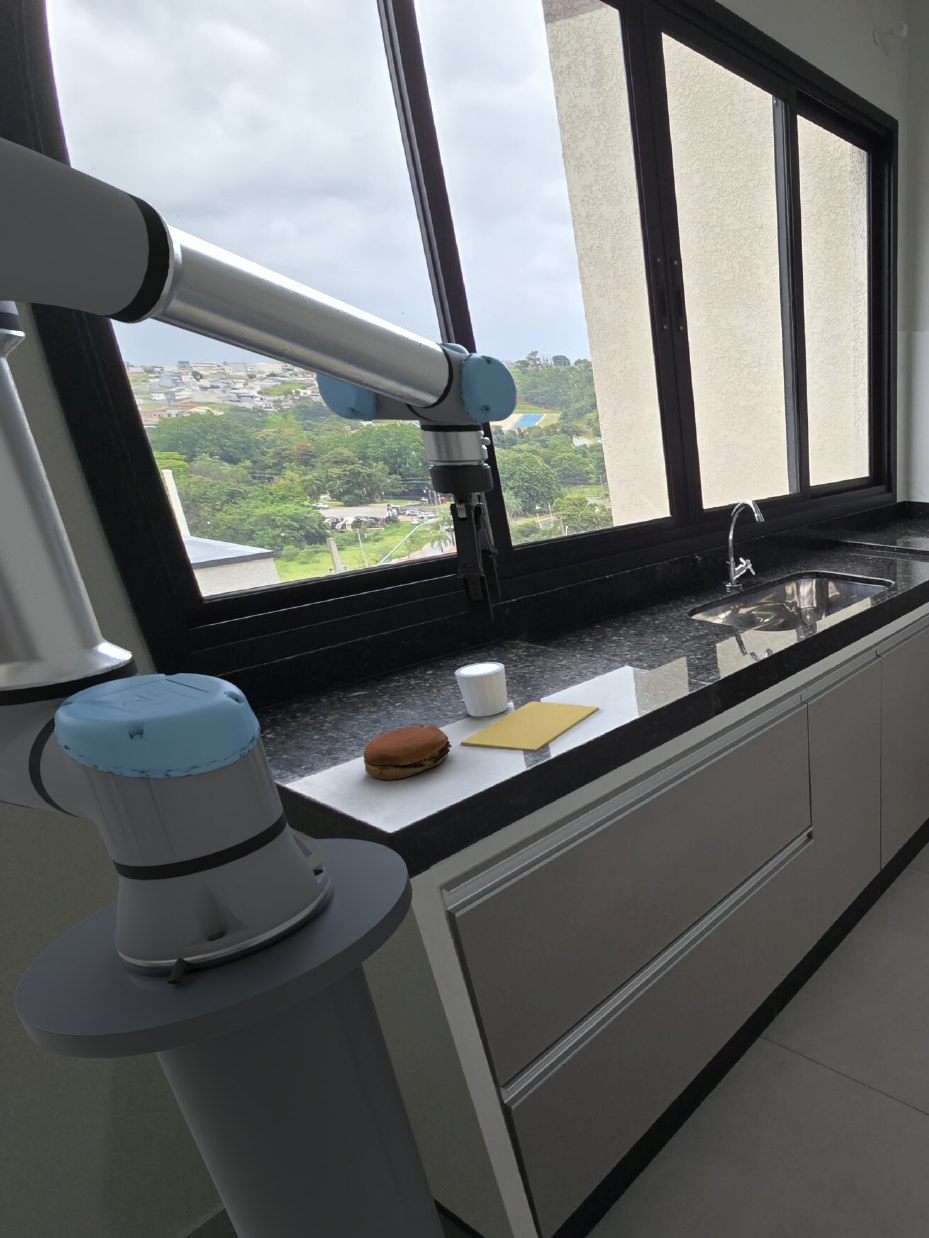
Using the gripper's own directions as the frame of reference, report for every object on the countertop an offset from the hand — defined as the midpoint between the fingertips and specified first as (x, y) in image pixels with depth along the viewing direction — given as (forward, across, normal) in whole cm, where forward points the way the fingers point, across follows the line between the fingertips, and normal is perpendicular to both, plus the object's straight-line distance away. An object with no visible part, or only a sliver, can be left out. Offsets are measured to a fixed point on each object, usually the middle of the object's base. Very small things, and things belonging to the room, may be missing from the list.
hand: (487, 609), depth 112 cm
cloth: (+17, -7, -4) cm, 19 cm away
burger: (+17, -15, +11) cm, 25 cm away
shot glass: (+17, +2, +3) cm, 17 cm away
